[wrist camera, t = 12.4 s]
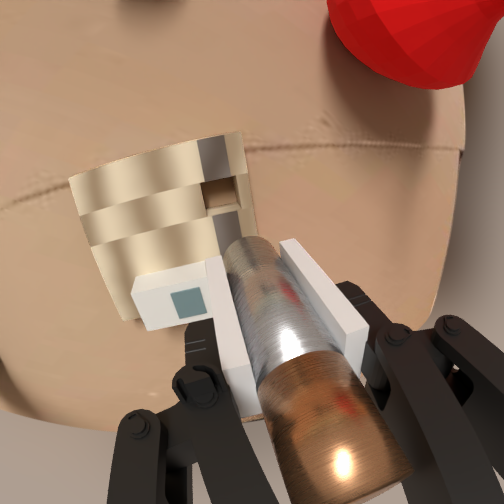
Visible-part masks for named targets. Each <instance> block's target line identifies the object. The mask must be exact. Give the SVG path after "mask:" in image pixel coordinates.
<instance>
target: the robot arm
mask: <svg viewBox="0 0 504 504" xmlns="http://www.w3.org/2000/svg"><path fill="white" fill-rule="evenodd" d="M279 244H280V253H281V259H282V261H283V262H284V264H285V265H286V267H287V268H288V270H289V271H290V273H291V274H292V276H293V277H294V279H295V280H296V282H297V283H298V285H299V286H300V288H301V290H302V291H303V293H304V294H305V296H306V297H307V299H308V300H309V302H310V303H311V305H312V306H313V308H314V309H315V311H316V312H317V314H318V316H319V317H320V319H321V320H322V322H323V323H324V325H325V326H326V328H327V329H328V331H329V333H330V334H331V336H332V337H333V339H334V340H335V342H336V343H337V345H338V347H339V348H340V350H341V351H342V353H343V354H344V356H345V358H346V359H347V361H348V362H349V364H350V366H351V367H352V369H353V370H354V372H355V373H356V375H357V377H358V378H359V379H360V375H361V372H362V373H363V375H364V376H365V378H366V379H367V381H366V385H365V390H366V391H367V393H368V394H369V396H370V398H371V399H372V401H373V402H374V404H375V406H376V407H377V409H378V411H379V412H380V414H381V415H382V417H383V419H384V420H385V422H386V424H387V425H388V427H389V429H390V430H391V432H392V434H393V435H394V437H395V439H396V440H397V442H398V444H399V445H400V447H401V449H402V450H403V452H404V454H405V455H406V457H407V459H408V461H409V462H410V464H411V466H412V467H413V469H414V472H413V473H412V474H411V475H410V476H409V477H407V478H406V479H405V480H403V481H402V482H401V483H402V486H403V489H404V492H405V495H406V497H407V501H408V504H504V493H503V491H502V488H501V486H500V483H499V481H498V479H497V476H496V474H495V472H494V470H493V467H494V469H495V470H496V471H497V472H498V473H499V475H500V476H501V477H502V478H503V479H504V353H503V352H502V351H501V350H500V349H499V348H497V347H496V346H495V345H494V344H492V343H491V342H490V341H489V340H488V339H486V338H485V337H484V336H483V335H482V334H480V333H479V332H478V331H477V330H475V329H474V328H473V327H471V326H470V325H469V324H468V323H467V322H465V321H464V320H462V319H461V318H459V317H457V316H454V315H444V316H442V317H439V318H438V319H437V321H436V323H435V326H434V328H432V329H426V330H420V331H412V330H411V329H410V328H409V327H407V326H405V325H403V324H398V323H392V322H391V321H390V320H389V319H388V317H387V316H386V315H385V314H384V313H383V312H382V311H381V310H380V309H379V308H378V307H377V306H376V304H375V303H374V302H373V301H371V299H370V298H369V297H368V296H367V295H365V293H364V292H363V291H362V290H361V288H360V287H359V286H357V285H355V284H353V283H351V282H349V281H345V282H342V283H338V284H334V283H333V282H332V280H331V279H330V278H329V277H328V276H327V275H326V273H325V272H324V271H323V270H322V269H321V268H320V267H319V265H318V264H317V263H316V262H315V261H314V260H313V259H312V257H311V256H310V255H309V254H308V253H307V252H306V251H305V249H304V248H303V247H302V246H301V245H300V244H299V243H298V242H297V240H296V239H295V238H293V239H289V240H285V241H280V242H279ZM205 263H206V271H207V278H208V285H209V292H210V299H211V306H212V313H213V318H208V319H204V320H199V321H195V322H190V323H189V325H188V327H187V329H186V331H185V333H184V334H185V353H186V354H185V363H186V366H184V367H182V368H181V369H180V370H179V371H178V372H177V373H176V374H175V376H174V378H173V380H172V389H173V390H174V392H175V393H176V395H177V397H178V398H179V400H180V401H179V402H178V403H177V404H176V405H174V406H172V407H171V408H168V409H166V410H164V411H162V412H159V413H157V414H154V413H153V412H151V411H149V410H144V409H139V410H134V411H132V412H130V413H128V414H126V416H125V417H124V418H123V419H122V420H121V422H120V424H119V427H118V431H117V437H116V442H115V448H114V454H113V460H112V466H111V473H110V481H109V489H108V497H107V504H193V493H192V492H193V491H192V464H194V463H196V462H198V464H199V467H200V470H201V474H202V476H203V480H204V483H205V486H206V489H207V492H208V494H209V497H210V500H211V503H212V504H279V502H278V500H277V498H276V496H275V494H274V492H273V490H272V489H271V486H270V484H269V482H268V481H267V478H266V476H265V474H264V472H263V470H262V468H261V466H260V464H259V461H258V459H257V457H256V455H255V453H254V451H253V448H252V446H251V444H250V442H249V439H248V437H247V435H246V433H245V430H244V428H243V426H242V422H241V418H245V417H249V416H253V415H257V414H261V413H262V410H261V406H260V403H259V399H258V396H257V393H256V384H255V380H254V376H253V372H252V368H251V364H250V361H249V357H248V353H247V350H246V346H245V343H244V339H243V336H242V332H241V328H240V325H239V321H238V317H237V314H236V310H235V306H234V302H233V299H232V295H231V291H230V287H229V283H228V280H227V276H226V272H225V268H224V264H223V260H222V256H221V255H220V256H215V257H211V258H207V259H205ZM454 364H455V365H456V366H457V367H458V368H459V370H456V369H454V368H453V366H454ZM492 466H493V467H492Z"/></svg>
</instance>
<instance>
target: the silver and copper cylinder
mask: <svg viewBox="0 0 504 504" xmlns="http://www.w3.org/2000/svg"><path fill="white" fill-rule="evenodd" d="M223 264H224V268H225V272H226V276H227V280H228V283H229V287H230V291H231V295H232V299H233V302H234V306H235V310H236V314H237V317H238V321H239V325H240V328H241V332H242V336H243V339H244V343H245V346H246V350H247V353H248V357H249V361H250V364H251V368H252V372H253V376H254V380H255V384H256V393H257V396H258V399H259V403H260V406H261V410H262V413H263V416H264V420H265V423H266V426H267V430H268V433H269V436H270V439H271V443H272V446H273V449H274V452H275V455H276V458H277V462H278V465H279V468H280V471H281V474H282V477H283V480H284V483H285V486H286V489H287V492H288V495H289V498H290V501H291V504H362V503H364V502H366V501H368V500H370V499H372V498H374V497H376V496H378V495H380V494H382V493H384V492H385V491H387V490H389V489H390V488H392V487H394V486H395V485H397V484H399V483H400V482H402V481H403V480H405V479H406V478H407V477H409V476H410V475H411V474H412V473H413V472H414V469H413V467H412V466H411V464H410V462H409V461H408V459H407V457H406V455H405V454H404V452H403V450H402V449H401V447H400V445H399V444H398V442H397V440H396V439H395V437H394V435H393V434H392V432H391V430H390V429H389V427H388V425H387V424H386V422H385V420H384V419H383V417H382V415H381V414H380V412H379V411H378V409H377V407H376V406H375V404H374V402H373V401H372V399H371V398H370V396H369V394H368V393H367V391H366V390H365V388H364V386H363V385H362V383H361V381H360V380H359V378H358V377H357V375H356V373H355V372H354V370H353V369H352V367H351V366H350V364H349V362H348V361H347V359H346V358H345V356H344V354H343V353H342V351H341V350H340V348H339V347H338V345H337V343H336V342H335V340H334V339H333V337H332V336H331V334H330V333H329V331H328V329H327V328H326V326H325V325H324V323H323V322H322V320H321V319H320V317H319V316H318V314H317V312H316V311H315V309H314V308H313V306H312V305H311V303H310V302H309V300H308V299H307V297H306V296H305V294H304V293H303V291H302V290H301V288H300V286H299V285H298V283H297V282H296V280H295V279H294V277H293V276H292V274H291V273H290V271H289V270H288V268H287V267H286V265H285V264H284V262H283V261H282V259H281V258H280V256H279V255H278V253H277V252H276V250H275V249H274V247H273V246H272V245H271V243H270V242H268V241H267V240H266V239H264V238H261V237H258V236H246V237H242V238H240V239H238V240H236V241H234V242H233V243H232V244H231V245H230V246H229V247H228V248H227V250H226V252H225V254H224V257H223Z"/></svg>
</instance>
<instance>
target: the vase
mask: <svg viewBox="0 0 504 504" xmlns="http://www.w3.org/2000/svg"><path fill="white" fill-rule="evenodd" d="M327 6H328V11H329V16H330V20H331V23H332V26H333V28H334V30H335V32H336V34H337V36H338V37H339V39H340V40H341V42H342V43H343V45H344V46H345V47H346V48H347V49H348V50H349V51H350V52H351V53H352V54H353V55H354V56H355V57H356V58H357V59H358V60H360V61H361V62H362V63H364V64H365V65H366V66H368V67H369V68H370V69H372V70H373V71H374V72H376V73H379V74H381V75H383V76H385V77H387V78H389V79H392V80H395V81H398V82H400V83H403V84H406V85H408V86H412V87H417V88H422V89H436V90H438V89H444V88H450V87H453V86H457V85H460V84H464V83H465V82H467V81H468V80H469V79H470V78H472V76H473V74H474V72H475V70H476V68H477V66H478V64H479V61H480V59H481V56H482V53H483V51H484V49H485V46H486V44H487V42H488V40H489V38H490V36H491V34H492V32H493V30H494V28H495V26H496V24H497V22H498V21H499V20H500V19H501V18H502V17H503V16H504V0H327Z"/></svg>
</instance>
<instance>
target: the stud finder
mask: <svg viewBox="0 0 504 504" xmlns="http://www.w3.org/2000/svg"><path fill="white" fill-rule="evenodd" d="M131 296H132V298H133V301H134V303H135V305H136V307H137V310H138V312H139V314H140V316H141V318H142V320H143V322H144V325H145V327H146V329H147V331H151V330H156V329H161V328H166V327H171V326H176V325H181V324H185V323H190V322H195V321H199V320H204V319H208V318H213V313H212V306H211V299H210V292H209V285H208V278H207V271H206V263H205V261H201V262H196V263H192V264H188V265H183V266H179V267H175V268H171V269H166V270H162V271H158V272H154V273H149V274H145V275H141V276H137V277H135V281H134V284H133V288H132V291H131Z"/></svg>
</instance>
